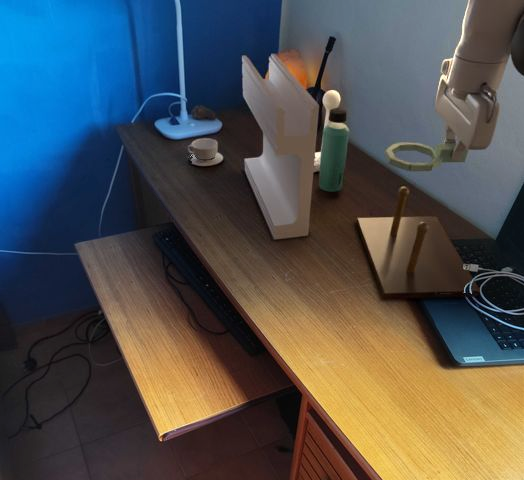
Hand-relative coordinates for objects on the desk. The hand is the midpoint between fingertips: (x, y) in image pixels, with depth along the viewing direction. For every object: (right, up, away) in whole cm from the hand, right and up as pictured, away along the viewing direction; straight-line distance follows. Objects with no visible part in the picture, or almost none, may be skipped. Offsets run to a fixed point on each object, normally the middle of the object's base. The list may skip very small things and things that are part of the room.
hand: (451, 153), depth 91 cm
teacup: (-54, +16, +43) cm, 70 cm away
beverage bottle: (-20, +3, +30) cm, 36 cm away
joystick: (-21, +12, +39) cm, 46 cm away
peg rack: (-5, -18, +10) cm, 21 cm away
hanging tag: (-5, -1, +1) cm, 5 cm away
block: (-34, -1, +27) cm, 44 cm away
